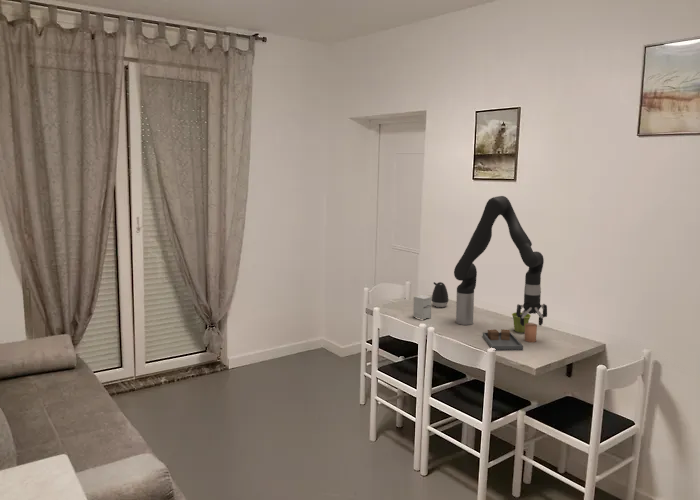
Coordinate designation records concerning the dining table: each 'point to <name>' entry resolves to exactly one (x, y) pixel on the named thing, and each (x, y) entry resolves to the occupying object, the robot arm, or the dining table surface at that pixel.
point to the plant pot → (517, 325)
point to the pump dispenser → (440, 295)
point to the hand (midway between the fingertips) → (531, 325)
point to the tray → (503, 342)
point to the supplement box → (422, 306)
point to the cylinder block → (530, 332)
